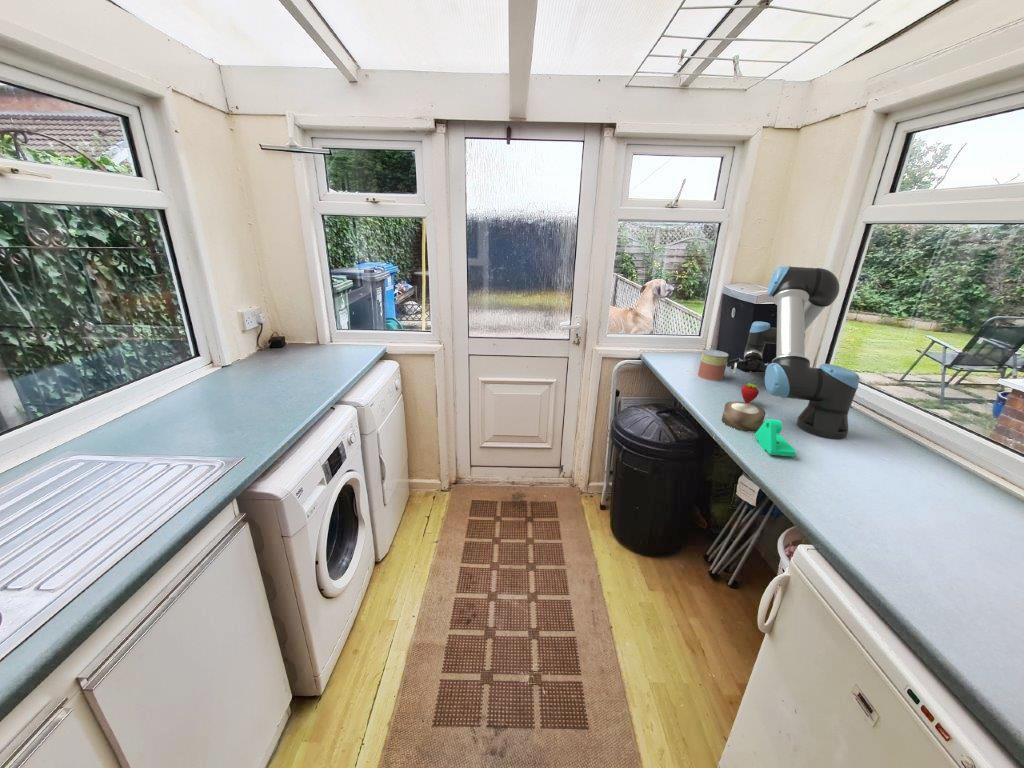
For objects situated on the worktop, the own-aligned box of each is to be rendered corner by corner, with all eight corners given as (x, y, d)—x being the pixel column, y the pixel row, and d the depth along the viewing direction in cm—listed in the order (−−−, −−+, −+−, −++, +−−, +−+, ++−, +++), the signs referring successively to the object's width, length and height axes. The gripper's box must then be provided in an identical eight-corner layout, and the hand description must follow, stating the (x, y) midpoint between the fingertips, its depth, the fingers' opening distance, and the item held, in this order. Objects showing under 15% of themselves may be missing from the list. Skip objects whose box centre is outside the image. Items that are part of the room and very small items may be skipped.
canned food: (727, 381, 195) (733, 357, 191) (703, 380, 195) (708, 356, 191) (716, 373, 206) (722, 350, 201) (693, 372, 206) (698, 349, 201)
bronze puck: (761, 421, 155) (765, 406, 153) (761, 435, 144) (766, 419, 142) (722, 413, 161) (726, 398, 159) (720, 425, 150) (724, 410, 148)
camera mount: (795, 459, 130) (804, 430, 126) (769, 457, 131) (777, 428, 127) (777, 441, 141) (786, 414, 137) (753, 439, 142) (761, 411, 138)
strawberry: (749, 400, 174) (755, 377, 171) (758, 407, 167) (764, 384, 164) (735, 399, 175) (740, 376, 171) (743, 406, 168) (749, 383, 164)
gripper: (781, 372, 189) (784, 387, 172) (721, 362, 200) (718, 375, 183) (786, 356, 186) (789, 370, 169) (725, 347, 197) (722, 359, 180)
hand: (752, 373), depth 176 cm, fingers open, 13 cm apart
